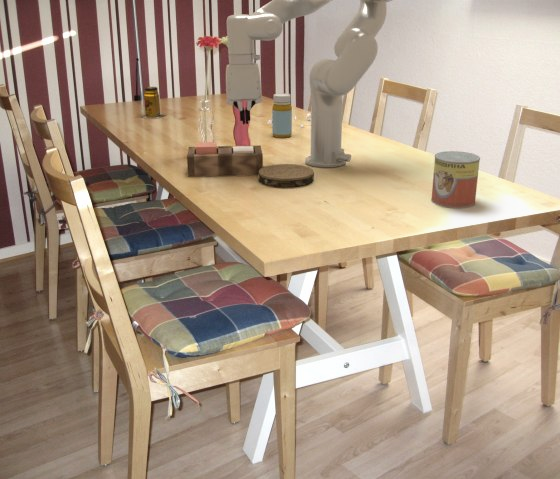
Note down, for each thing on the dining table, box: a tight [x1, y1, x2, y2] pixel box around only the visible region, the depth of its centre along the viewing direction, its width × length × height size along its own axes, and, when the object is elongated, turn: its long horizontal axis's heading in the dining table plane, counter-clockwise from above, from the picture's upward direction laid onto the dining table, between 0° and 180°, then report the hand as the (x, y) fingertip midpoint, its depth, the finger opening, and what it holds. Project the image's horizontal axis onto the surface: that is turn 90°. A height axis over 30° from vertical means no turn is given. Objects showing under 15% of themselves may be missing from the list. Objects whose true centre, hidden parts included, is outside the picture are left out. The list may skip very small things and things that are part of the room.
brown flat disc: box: [258, 163, 315, 189], centre depth 200 cm, size 16×16×3 cm
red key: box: [195, 141, 217, 154], centre depth 208 cm, size 6×6×5 cm
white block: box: [233, 145, 254, 154], centre depth 209 cm, size 6×6×5 cm
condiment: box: [143, 86, 167, 119], centre depth 287 cm, size 7×8×12 cm
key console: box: [186, 145, 264, 177], centre depth 209 cm, size 22×12×6 cm, turn 95°
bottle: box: [271, 93, 293, 139], centre depth 251 cm, size 7×7×15 cm
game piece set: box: [266, 111, 311, 129], centre depth 275 cm, size 19×20×4 cm
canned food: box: [430, 150, 481, 209], centre depth 180 cm, size 11×11×12 cm
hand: (245, 123), depth 206 cm, fingers closed
